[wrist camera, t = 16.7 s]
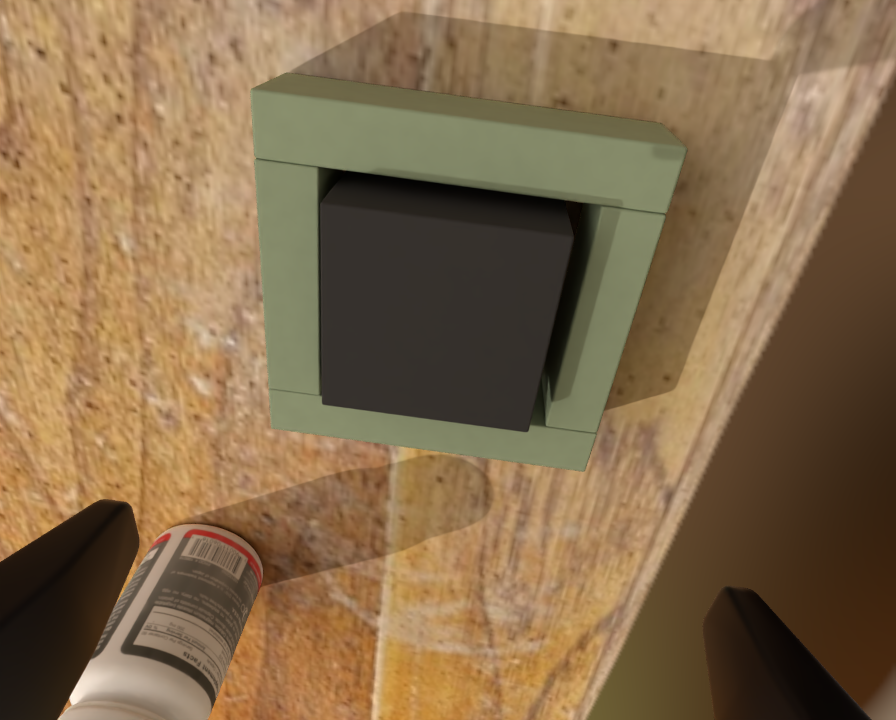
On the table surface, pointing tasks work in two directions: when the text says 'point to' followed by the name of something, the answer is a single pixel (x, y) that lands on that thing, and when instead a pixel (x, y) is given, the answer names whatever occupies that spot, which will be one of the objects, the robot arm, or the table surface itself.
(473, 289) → the black block
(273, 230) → the green square frame
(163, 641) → the pill bottle
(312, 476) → the table surface
